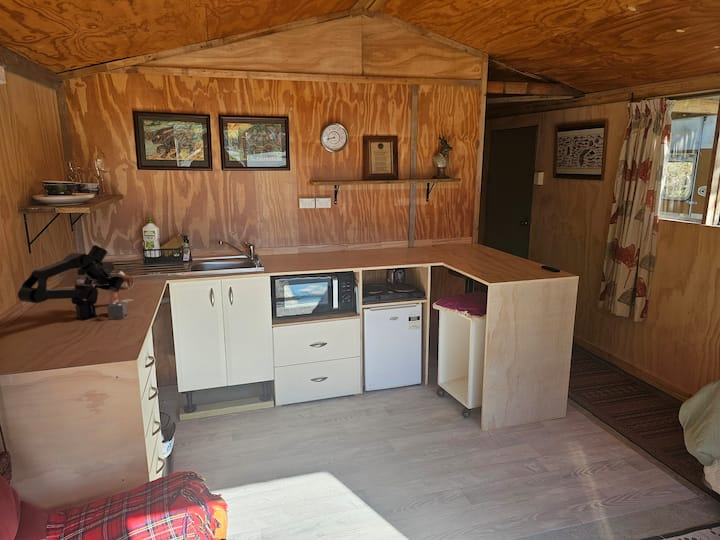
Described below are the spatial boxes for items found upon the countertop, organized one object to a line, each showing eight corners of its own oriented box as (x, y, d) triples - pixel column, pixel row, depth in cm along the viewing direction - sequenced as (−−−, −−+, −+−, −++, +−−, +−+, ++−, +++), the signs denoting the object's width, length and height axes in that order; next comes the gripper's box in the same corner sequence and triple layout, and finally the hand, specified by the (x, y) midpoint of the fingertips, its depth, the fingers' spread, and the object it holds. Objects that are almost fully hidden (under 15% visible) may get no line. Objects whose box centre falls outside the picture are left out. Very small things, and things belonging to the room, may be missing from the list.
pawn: (112, 303, 231) (110, 280, 229) (107, 302, 233) (105, 279, 231) (120, 302, 234) (118, 278, 232) (115, 300, 236) (113, 277, 234)
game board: (115, 309, 231) (115, 306, 231) (105, 308, 233) (105, 305, 233) (136, 302, 243) (136, 299, 243) (126, 301, 245) (126, 298, 245)
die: (123, 319, 218) (122, 305, 216) (108, 319, 216) (107, 305, 215) (127, 315, 223) (125, 301, 222) (112, 315, 222) (111, 302, 221)
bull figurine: (123, 284, 277) (122, 270, 275) (136, 288, 268) (134, 273, 267) (116, 286, 273) (114, 271, 272) (128, 290, 265) (126, 275, 263)
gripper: (119, 258, 222) (139, 278, 235) (86, 255, 228) (108, 274, 241) (106, 280, 217) (128, 298, 229) (73, 276, 223) (96, 294, 235)
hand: (115, 290), depth 234 cm, fingers closed on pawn, 3 cm apart
